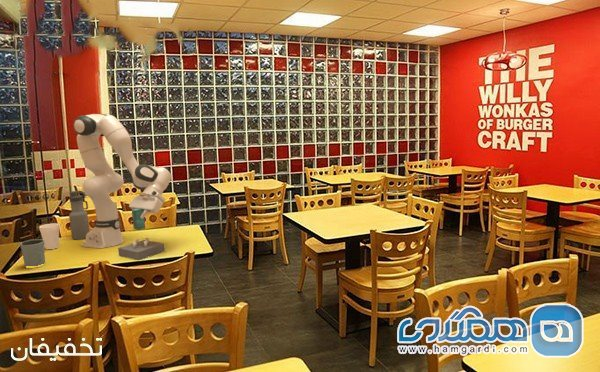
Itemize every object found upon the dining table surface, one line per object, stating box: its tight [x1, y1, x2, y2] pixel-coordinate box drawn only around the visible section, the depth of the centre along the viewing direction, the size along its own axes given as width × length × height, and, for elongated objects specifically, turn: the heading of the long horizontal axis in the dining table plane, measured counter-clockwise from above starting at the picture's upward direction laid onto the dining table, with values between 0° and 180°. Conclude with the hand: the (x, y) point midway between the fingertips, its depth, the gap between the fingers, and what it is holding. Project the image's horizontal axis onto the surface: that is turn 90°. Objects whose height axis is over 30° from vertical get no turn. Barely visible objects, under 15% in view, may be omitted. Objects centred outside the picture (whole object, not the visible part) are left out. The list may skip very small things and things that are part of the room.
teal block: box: [131, 209, 146, 231], centre depth 230 cm, size 4×4×10 cm
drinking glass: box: [20, 238, 46, 267], centre depth 220 cm, size 10×10×12 cm
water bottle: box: [68, 190, 90, 241], centre depth 267 cm, size 10×10×28 cm
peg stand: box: [117, 237, 166, 261], centre depth 233 cm, size 16×16×7 cm
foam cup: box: [38, 222, 60, 250], centre depth 248 cm, size 10×9×13 cm
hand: (137, 217), depth 230 cm, fingers closed on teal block, 4 cm apart
